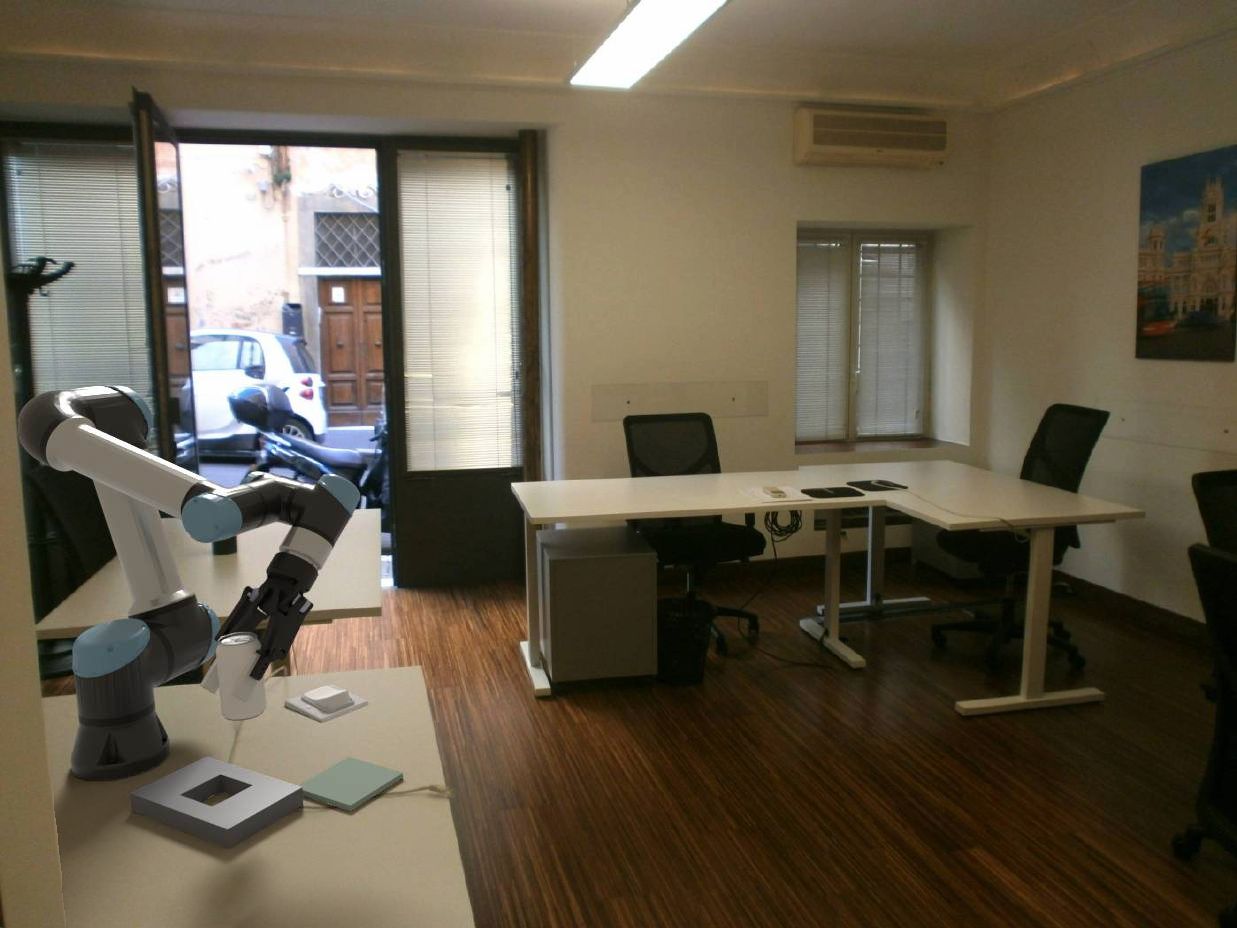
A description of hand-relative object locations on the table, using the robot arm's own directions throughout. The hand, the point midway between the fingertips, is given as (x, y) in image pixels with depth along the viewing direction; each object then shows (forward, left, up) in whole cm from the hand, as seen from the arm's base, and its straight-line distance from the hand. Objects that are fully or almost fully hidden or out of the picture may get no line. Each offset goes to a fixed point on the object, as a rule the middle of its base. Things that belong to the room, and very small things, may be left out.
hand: (222, 693), depth 145 cm
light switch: (-18, +37, -21) cm, 46 cm away
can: (0, +4, -5) cm, 6 cm away
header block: (-4, 0, -20) cm, 20 cm away
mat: (+9, +16, -20) cm, 27 cm away
